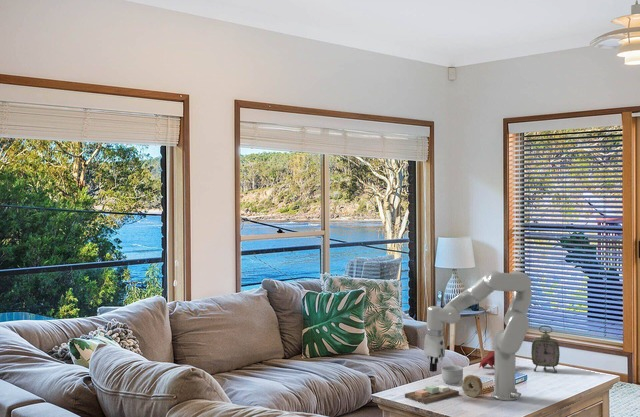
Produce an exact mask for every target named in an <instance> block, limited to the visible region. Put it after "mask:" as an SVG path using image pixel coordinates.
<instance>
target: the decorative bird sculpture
mask: <svg viewBox="0 0 640 417" xmlns="http://www.w3.org/2000/svg"><path fill="white" fill-rule="evenodd" d="M487 365H488V366H490V367H491V368H493V370H495V351H494V350H493V351H490V352H489V353H487V354H486V356H485V357H483V358H482V359H481V361H480V363H479V366H478V367H479V369H480V368H484V367H486V366H487Z"/></svg>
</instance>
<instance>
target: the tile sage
mask: <svg viewBox="0 0 640 417" xmlns="http://www.w3.org/2000/svg"><path fill="white" fill-rule="evenodd" d="M437 386H438V385H434V384H430V385H425V387H424V389H425V391H428V393H431V394H434V393H438V392H439V387H437Z"/></svg>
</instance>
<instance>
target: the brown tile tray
mask: <svg viewBox="0 0 640 417" xmlns="http://www.w3.org/2000/svg"><path fill="white" fill-rule="evenodd" d="M422 390H425V388H424V389H422ZM415 391H416V390H414V391H411V392H405V393H404V398H406V399H408V400H411V401H415V402H417V401H418V402H417V403H420V402H421V404H423V403H424V404H427V402H428V403H432V402H437V401H440V400H444V399H447V398H451V397H456V396H460V391H459V390H456V389H452V388H450V387H449V391H445V392H440V391H439V392H438V393H434V394H431V393H428V396H424V397H420V396H417V395H415ZM431 401H432V402H431Z"/></svg>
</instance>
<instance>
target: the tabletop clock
mask: <svg viewBox="0 0 640 417" xmlns="http://www.w3.org/2000/svg"><path fill="white" fill-rule="evenodd" d="M543 327H546V328H549V329H551V331H547V330H544V331H543V330H540V329H541V328H543ZM538 331H539V332H540V333H542V334H541V336H540V337H535V338H534V337H533V339H532V341H531V352H530V353H531V360H532V361H531V362H532V364H533V365H535V367H534V368H533V372H536V371H537V367H538V366H539V367H543V371H547V368H552V369H553V372H554V373H555V374H556V373H557V372H558V370H557V369H556V367H557V366H558V365H559V363H560V345H559V341H558V339H555V338H551V336H550V333H552V332H553V328H552V327H551V326H549V325H545V324H544V325H540V326H539V327H538Z"/></svg>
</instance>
